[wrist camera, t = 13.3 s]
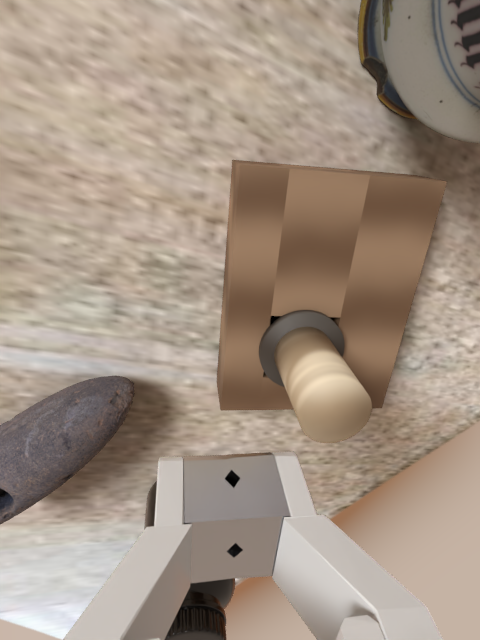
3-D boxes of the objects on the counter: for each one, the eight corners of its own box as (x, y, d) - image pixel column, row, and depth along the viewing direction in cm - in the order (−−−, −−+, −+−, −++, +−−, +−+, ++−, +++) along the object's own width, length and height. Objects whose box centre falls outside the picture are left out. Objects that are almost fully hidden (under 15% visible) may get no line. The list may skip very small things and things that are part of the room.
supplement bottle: (132, 504, 35) (110, 668, 24) (176, 454, 33) (173, 607, 23) (195, 529, 38) (200, 688, 27) (239, 483, 36) (264, 635, 25)
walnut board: (232, 160, 24) (240, 164, 21) (415, 175, 26) (447, 181, 23) (216, 381, 31) (220, 410, 28) (362, 381, 33) (381, 407, 29)
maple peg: (255, 289, 28) (290, 367, 19) (332, 292, 28) (401, 367, 19) (247, 359, 30) (275, 457, 21) (318, 359, 31) (374, 454, 22)
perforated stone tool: (115, 340, 28) (97, 399, 22) (159, 390, 30) (153, 457, 24) (-47, 439, 30) (-107, 520, 24) (6, 479, 32) (-36, 563, 26)
